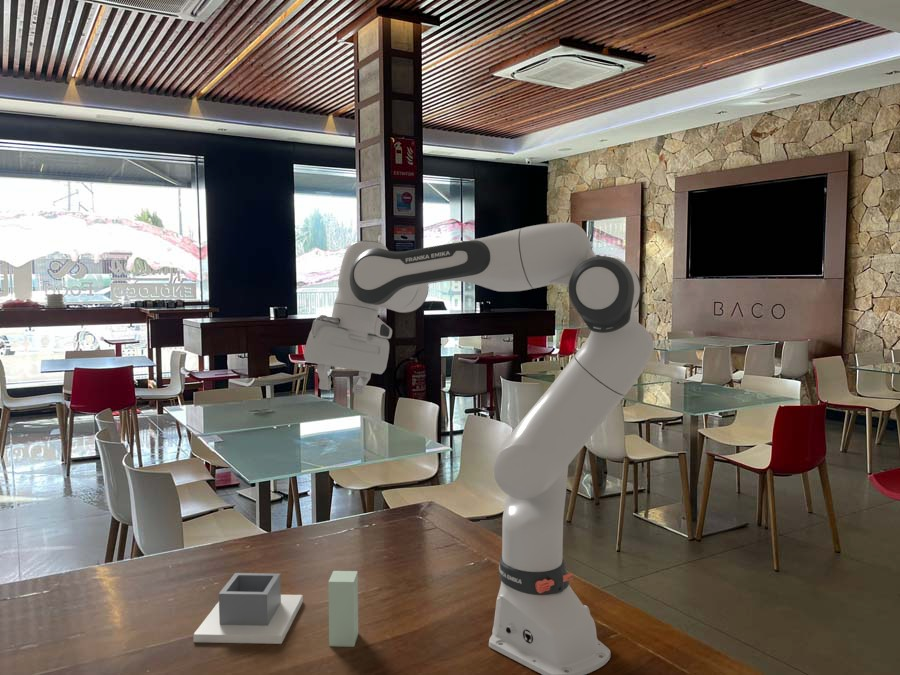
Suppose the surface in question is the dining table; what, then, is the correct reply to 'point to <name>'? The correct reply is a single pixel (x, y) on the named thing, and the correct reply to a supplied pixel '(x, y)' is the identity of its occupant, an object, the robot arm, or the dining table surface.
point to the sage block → (343, 608)
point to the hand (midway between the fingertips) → (341, 391)
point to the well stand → (250, 611)
